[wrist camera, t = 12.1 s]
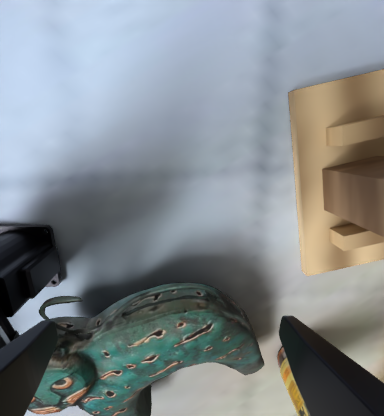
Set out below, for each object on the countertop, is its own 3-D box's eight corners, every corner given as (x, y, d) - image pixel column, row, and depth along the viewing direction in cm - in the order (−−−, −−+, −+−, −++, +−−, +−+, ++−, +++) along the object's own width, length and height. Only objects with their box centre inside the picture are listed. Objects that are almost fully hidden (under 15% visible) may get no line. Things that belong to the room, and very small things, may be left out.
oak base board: (301, 270, 23) (319, 288, 21) (288, 92, 18) (308, 83, 15) (386, 251, 23) (415, 266, 21) (397, 67, 18) (438, 53, 15)
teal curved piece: (113, 452, 23) (-75, 387, 14) (120, 383, 29) (-9, 302, 19) (279, 380, 22) (202, 252, 12) (253, 322, 28) (186, 203, 18)
